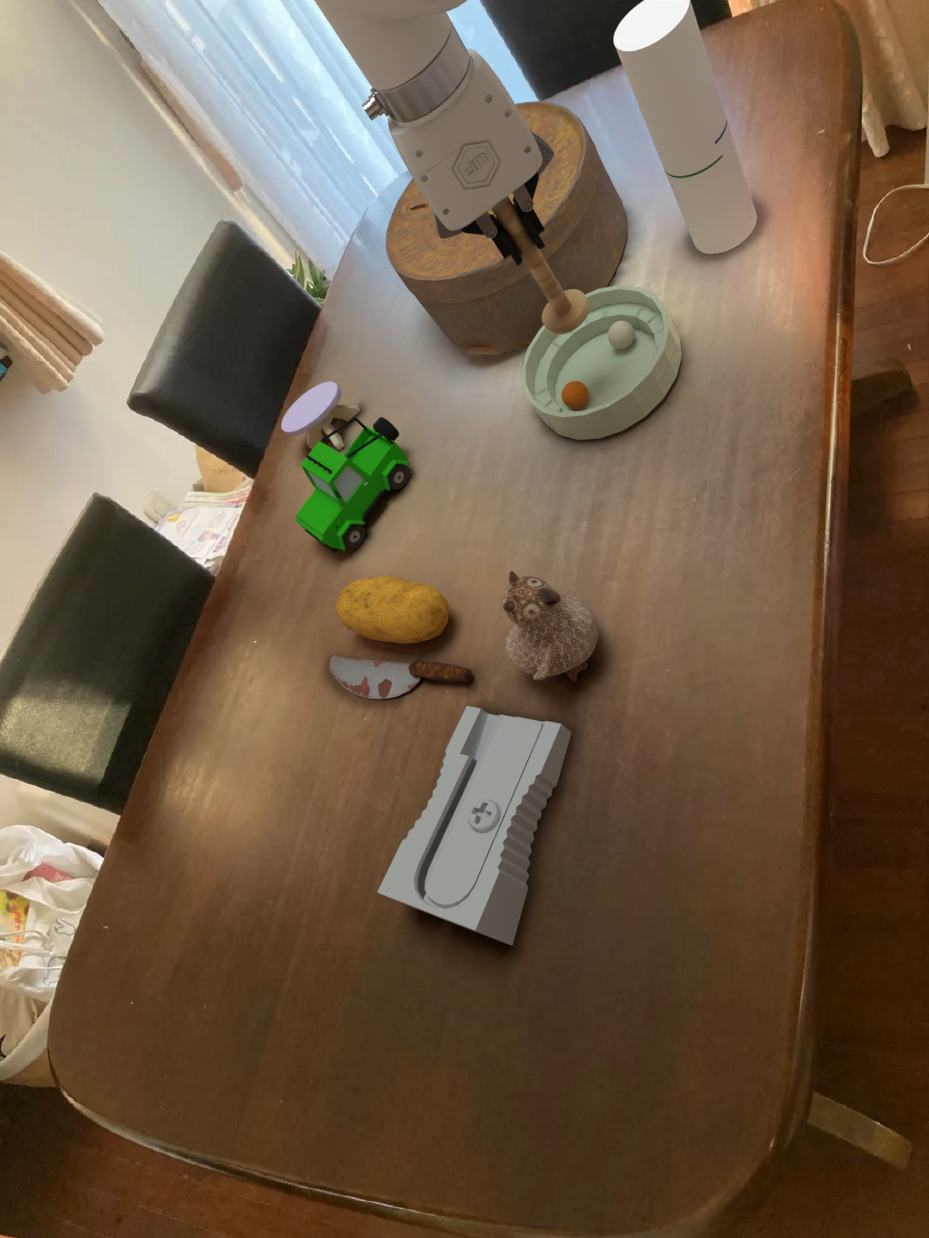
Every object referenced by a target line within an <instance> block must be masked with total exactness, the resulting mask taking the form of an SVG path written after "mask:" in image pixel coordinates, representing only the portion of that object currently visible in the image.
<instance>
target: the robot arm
mask: <svg viewBox="0 0 929 1238" xmlns="http://www.w3.org/2000/svg"><path fill="white" fill-rule="evenodd" d="M313 1H314V2H315V4H316V6H317V7H318V8H319V10H320V12H321V13H322V14H323V16H324V18H325V19H326V21H327V22H328V23H329V25H330V26H331V28H332V30H333V31H334V33H335V34H336V36H337V37H338V38H339V40H340V41H341V44H343V47H344V48H345V49H346V51H347V52H348V54H349V55H350V57H351V58H352V60H353V62H354V63H355V65H356V66H357V67H358V69H359V70H360V72H361V74H362V75H363V76H364V78H365V79H366V81H367V83H368V84H369V85H370V87H371V88H370V89H369V91H370V95H368V97H367V98H368V99H367V100H365V101H364V103H362V104H361V107H362V108H363V110H364V112H365V114H366V115H367V117H368V118H369V119H370V121H374V120H375V119H376V118H377V117H382V116H383V115H384V116H385V117H386V118H387V126H388V130H389V134H390V136H391V139H392V140H393V143H394V146H395V148H396V150H397V153H399V156H400V158H401V160H402V162H403V164H404V165H405V167H406V169H407V170H408V172H409V175H410V176H411V177H412V179H414V181H415V182H416V184H417V186H418V187H419V189H420V191H421V192H422V194H423V195H424V197H425V199H426V200H427V202H428V203H429V205H430V207H431V208H432V212H433V217H434V222H435V227H436V230H437V232H438V235H439V237H440V238H441V239H446V238H449V237H453V236H456V235H459V234H460V233H463V232H464V233H469V234H478V235H485V236H486V237H487V238H489V239H492V240H493V242H494V243H495V245H496V246H497V248H498V250H499V251H500V253H501V254H502V256H503V257H504V259H506V258H507V257H508V256H510V255H511V256H512V258H513V260H514V261H515V263H516V264H517V266H519V265H520V264H521V263H522V261H523V259H522V257H521V255H520V254H519V252H518V250H517V249H516V247H515V246H514V244H513V242H512V241H511V239H510V237H509V236H508V234H507V232H506V231H505V229H504V228H503V226H502V225H501V224H500V222H499V221H498V219H497V217H495V216H494V215H493V214H489V213H488V210H490V209H491V208H492V207H494V206H495V205H496V204H498V203H499V202H500V201H502V200H503V199H504V198H506V197H507V196H508V195H510V194H511V193H513V195H514V197H513V202H514V204H513V206H514V207H515V209H516V211H517V214H518V215H519V217H520V219H521V221H522V222H523V224H524V226H525V227H526V229H527V231H528V233H529V234H530V236H531V238H532V239H533V241H534V243H535V244H536V246H537V248H538V249H542V248H544V247H545V244H544V243H543V241H542V239H541V237H540V236H539V234H540V233H542V232H543V231H545V229H544V227H543V225H542V223H541V221H540V220H539V218H538V216H537V214H536V213H535V211H534V209H533V207H534V202H533V198H534V194H535V191H536V187H537V184H538V180H539V176H540V174H541V173H543V171H544V170H545V169H546V167H547V166H548V164H549V163H550V162H551V160H552V159H553V157H554V151H553V150H552V148H551V147H550V145H549V144H548V143H547V142H545V141H544V140H543V139H541V138H540V137H539V136H537V135H536V134H535V133H533V132H532V131H531V130H530V129H529V127H528V125H527V124H526V122H525V120H524V118H523V117H522V115H521V113H520V112H519V110H518V108H517V106H516V105H515V104H516V103H515V101H514V100H513V98H512V96H511V95H510V93H509V91H508V90H507V89H506V86H505V85H504V84H503V82H502V81H501V79H500V77H499V76H498V75H497V73H496V72H495V71H494V69H493V68H492V67H491V65H490V64H489V63H488V62H487V60H485V58H484V57H483V56H482V55H481V54H480V53H479V52H478V51H476V49H473V48H467V47H466V46H465V44H464V42H463V40H462V37H460V35H459V33H458V30H457V29H456V27H455V25H454V23H453V22H452V20H451V18H450V16H449V14H448V12H450V11H452V10H455V9H457V8H459V7H461V6H462V5H463V4H465V3H466V2H467V1H468V0H313Z"/></svg>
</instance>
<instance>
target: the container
mask: <svg viewBox="0 0 929 1238" xmlns="http://www.w3.org/2000/svg"><path fill="white" fill-rule="evenodd" d="M515 105H516V106H517V108H518V110H519V112H520V113H521V115H522V117H523V118H524V120H525V122H526V124H527V125H528V127H529V129H530V130H531V131H532V132H533V133H535V134H536V135H537V136H539V137H540V138H541V139H543V140H544V141H545V142H547V143H548V144H549V145H550V147H551V148H552V150H553V151H554V157H553V159H552V160H551V162H550V163H549V164H548V166H547V167H546V169H545V170H544V171H543V173H541V174H540V176H539V180H538V184H537V187H536V191H535V194H534V198H533V202H534V207H533V209H534V211H535V213H536V214H537V216H538V218H539V220H540V221H541V223H542V225H543V227H544V229H545V231H543V232H542V233H540V234H539V236H540V237H541V239H542V241H543V243H544V244H545V247H544V248H542V249H539V250H540V252H541V253H542V255H543V257H544V258H545V260H546V262H547V264H548V265H549V267H550V269H551V270H552V272H553V274H554V275H555V277H556V279H557V281H558V282H559V284H560V286H561V287H562V289H563V291H566V290H570V289H577V290H580V291H582V292H583V293H584V294H588V293H590V292H592V291H595V290H597V289H600V288H606V287H608V285H609V284H610V282H611V280H612V278H613V276H614V274H615V272H616V271H617V267H618V266H619V264H620V260H621V258H622V256H623V253H624V252H623V251H624V249H625V245H626V240H627V234H628V233H627V220H626V219H627V218H626V213H625V207H624V203H623V199H622V198H621V196H620V194H619V192H618V191H617V189H616V187H615V185H614V183H613V181H612V179H611V177H610V174H609V173H608V171H607V168H606V167H605V164H604V162H603V160H602V158H601V156H600V154H599V152H598V149H597V146H596V144H595V142H594V141H593V139H592V136H591V135H590V133H589V131H588V129H587V128H586V126H585V125H584V123H583V121H582V120H581V118H580V117H578V115H576V114H575V113H574V112H573V111H572V110H570V109H569V108H568V107H566V106H563V105H561V104H557V103H554V102H550V101H545V100H544V101H543V100H533V101H525V102H518V103H515ZM508 197H509V199H510V201H511V202H512V204H514V202H513V197H514V195H513V193H511V194H510V195H508ZM488 213H489V214H493V215H494V216H495V214H494V212H493V211H492V209H490V210H488ZM495 217H496V216H495ZM385 232H386V233H385V252H386V256H387V260H388V261H389V264H390V265H391V267H392V268H393V270H394V271H395V273H396V274H397V276H398V277H399V278H400V280H401V281H402V283H403V284H404V286H405V287H406V289H407V290H408V291H409V292H410V294H412V295H413V296H414V297H415V299H416V300H417V301H418V302H419V304H420V305H421V306H422V308H423V309H424V310H425V312H426V313H427V314H428V315H429V316H430V318H431V319H432V321H433V322H434V324H436V325H437V326H438V328H439V329H440V330H441V331H442V333H443V334H444V335H445V336H446V337H447V338H448V340H450V342H451V343H452V344H453V345H454V346H455V347H456V348H457V349H458V350H459V351H460V352H462V353H463V354H466V355H469V356H477V355H490V356H494V355H495V356H496V355H501V354H504V353H507V352H511V351H512V350H515V349H518V348H520V347H523V346H526V345H528V344H531V342H532V341H533V339H534V338H535V336H536V334H537V333H538V331H539V330H540V328H541V327H542V326H543V325H544V324H543V322H542V313H543V310H544V308H545V306H546V305H547V303H548V300H547V298H546V297H545V295H544V294H543V292H542V290H541V289H540V287H539V285H538V284H537V282H536V281H535V279H534V277H533V276H532V274H531V272H530V271H529V269H528V268H527V266H526V264H525V263H524V261H522V263H521V264H520V265H519V266H517V264H516V263H515V261H514V260H513V258H512V256H511V255H510V256H508V257H507V258H506V259H504V257H503V256H502V254H501V253H500V251H499V250H498V248H497V246H496V245H495V243H494V242H493V240H492V239H489V238H487V237H486V236H485V235H478V234H469V233H464V232H463V233H460V234H459V235H456V236H453V237H449V238H446V239H441V238H440V237H439V235H438V232H437V230H436V227H435V222H434V217H433V212H432V208H431V207H430V205H429V203H428V202H427V200H426V199H425V197H424V195H423V194H422V192H421V191H420V189H419V187H418V186H417V184H416V182H415V181H414V179H413V178H412V179H411V180H410V181H409V182H408V184H407V185H406V186H405V188H404V190H403V191H402V192H401V195H400V196H399V198H398V200H397V201H396V204H395V206H394V208H393V211H392V214H391V215H390V218H389V221H388V224H387V229H386V231H385Z"/></svg>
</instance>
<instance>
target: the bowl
mask: <svg viewBox="0 0 929 1238" xmlns="http://www.w3.org/2000/svg"><path fill="white" fill-rule="evenodd" d="M585 296H586V298H587V300H588V302H589V306H590V308H589V313H588V315H587V317H586V319H585V320H584V321H583V323H582V324H581V325H580V326H578V327H577V328H576V329H574V330H573V331H571V332H569V333H566V334H562V335H555V334H552V333H550V332H549V331H548V330H547V329H546V327H545V325H543V326H542V327H541V328H540V330H539V331H538V333H537V334H536V336H535V338H534V339H533V341H532V342H531V343H529V345H528V347H527V349H526V352H525V354H524V359H523V362H522V365H521V370H520V371H521V377H520V379H521V388H522V391H523V392H524V395H525V398H526V399H527V400H528V403H529V404H530V406H531V407H532V408H533V410H534V411H535V412H536V414H537V415H538V416H539V417H540V419H541V420H542V421H543V423H544V424H545V425H546V426H547V427H549V428H550V429H551V430H552V431H553V432H555V433H556V434H557V435H559V436H563V437H565V438H566V437H567V438H570V439H573V440H575V441H576V440H577V441H582V440H597V439H599V440H600V439H602V438H606V437H608V436H611V435H614V434H617V433H620V432H623V431H625V430H627V429H628V428H630V427H631V426H633V425H634V424H636V423H638V422H639V421H641V420H642V419H644V418H646V417H647V416H648V415H649V414H650V413H651V412H652V411H653V410H654V409H655V408H656V407H657V406H658V405H659V404H660V403H661V402H662V401H663V400H664V399H665V397H666V396H667V394H668V392H669V391H670V389H671V387H672V385H674V382H675V380H676V379H677V377H678V373H679V369H680V365H681V361H682V356H683V352H682V345H681V339H680V335H679V332H678V331H677V330H676V327H675V325H674V322H673V321H672V318H671V316H670V314H669V312H668V310H667V309H666V307H665V306H664V304H663V302H662V301H661V299H660V298H659V297H658V295H657V294H654V293H653V292H651V291H649V290H647V289H645V288H644V287H641V286H635V285H634V286H633V285H626V284H617V285H613V286H607V287H606V288H600V289H597V290H595V291H592V292H590V293H588V294H585ZM618 321H626V322H628V323H630V324H631V325H632V326H633V328H634V331H635V337H634V340H633V342H632V343H631V344H630V345H629V346H628V347H626V348H624V349H617V348H615V347H613V346H612V345H611V344H610V343H609V341H608V331H609V328H610V327H611V326H612V325H613V324H614V323H615V322H618ZM571 381H579V382H582V383H583V384H584V385H585V386H586V387H587V389H588V399H587V401H586V403H585V404H584V405H583V406H581V407H579V408H570V407H568V406H566V405H565V404H564V402H563V400H562V390H563V388H564V386H565V385H566V384H567V383H569V382H571Z"/></svg>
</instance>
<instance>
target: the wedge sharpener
mask: <svg viewBox="0 0 929 1238" xmlns="http://www.w3.org/2000/svg"><path fill="white" fill-rule="evenodd" d="M571 736H572V732H571V731H570V730H569V729H568V728H567V727H566V726H565V725H563V724H562V723H559V722H553V721H549V720H545V721H541V720H536V719H530V718H524V717H520V716H510V715H505V714H498V715H496V714H492V713H489V712H487V711H485V710H483V709H482V708H480V707H475V706H469V705H466V706H465V709H464V710H463V713H462V714H461V717H460V718H459V721H458V723H457V725H456V727H455V730H454V732H453V734H452V736H451V738H450V740H449V742H448V744H447V746H446V749H445V754H446V755H445V756H444V758H443V759H442V763H443V766H442V767H441V768H440V770H439V772H440V776H439V777H438V779H437V780H436V787H435V788H434V789H433V790H432V797H431V798H430V799H428V801H427V806H426V808H425V809H424V810H422V812H421V815H420V818H418V819H417V820H416V821H415V822H414V825H413V828H411V829H409V830H408V832H407V836H406V837H405V838H404V839H402V840H401V843H400V844H399V847H398V848H397V850H396V852H395V855H394V857H393V859H392V861H391V863H390V865H389V867H388V869H387V871H386V873H385V875H384V877H383V879H382V881H381V884H380V886H379V887H378V890H377V892H376V893H377V894H379V895H381V896H384V897H386V898H389V899H391V900H394V901H396V902H400V903H402V904H404V905H407V906H409V907H411V908H414V909H415V910H419V911H421V912H424V913H427V914H429V915H432V916H434V917H436V918H439V919H442V920H445V921H446V922H450V923H452V924H455V925H456V926H457V925H458V926H460V927H463V928H464V929H468V930H470V931H472V932H476V933H479V934H481V935H483V936H486V937H488V938H491V939H494V940H496V941H499V942H501V943H503V944H506V945H509V946H512V947H513V945H514V941H515V937H516V934H517V930H518V928H519V923H520V920H521V916H522V912H523V908H524V904H525V901H526V897H527V894H528V890H529V886H528V884H527V881H528V880H529V877H530V874H529V872H528V870H529V867H530V865H531V862H530V860H529V857H530V855H532V852H533V851H532V847H531V845H532V844H533V842H534V841H535V837H534V836H535V835H534V833H535V832H536V831H537V829H538V821H539V820H541V818H542V811H543V810H544V809H545V808H546V807H547V803H548V802H547V801H548V799H549V798H551V797H552V795H553V794H552V793H553V789H554V788H556V787H557V785H558V783H559V778H560V775H561V771H562V768H563V764H564V761H565V758H566V754H567V750H568V748H569V744H570V740H571Z"/></svg>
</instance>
